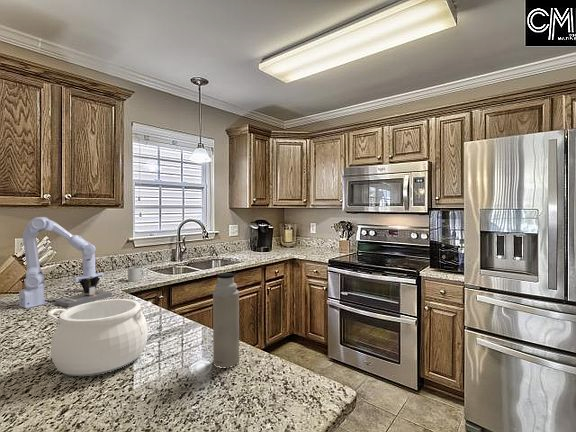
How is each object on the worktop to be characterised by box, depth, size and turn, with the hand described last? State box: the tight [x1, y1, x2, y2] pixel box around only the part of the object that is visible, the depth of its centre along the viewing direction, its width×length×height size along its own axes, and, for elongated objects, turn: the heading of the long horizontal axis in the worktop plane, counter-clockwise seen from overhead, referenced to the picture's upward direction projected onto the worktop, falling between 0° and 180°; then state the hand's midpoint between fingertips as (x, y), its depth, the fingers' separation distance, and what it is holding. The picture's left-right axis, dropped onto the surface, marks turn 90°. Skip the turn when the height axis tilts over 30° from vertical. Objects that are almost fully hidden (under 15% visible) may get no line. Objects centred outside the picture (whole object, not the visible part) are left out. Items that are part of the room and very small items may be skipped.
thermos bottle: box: [212, 272, 240, 367], centre depth 99 cm, size 8×8×28 cm
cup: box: [127, 266, 145, 283], centre depth 211 cm, size 7×10×9 cm
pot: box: [46, 298, 152, 378], centre depth 101 cm, size 29×26×17 cm
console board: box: [54, 289, 113, 308], centre depth 167 cm, size 22×12×2 cm, turn 152°
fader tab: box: [83, 284, 97, 295], centre depth 169 cm, size 3×5×5 cm, turn 62°
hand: (89, 292), depth 169 cm, fingers closed on fader tab, 3 cm apart
